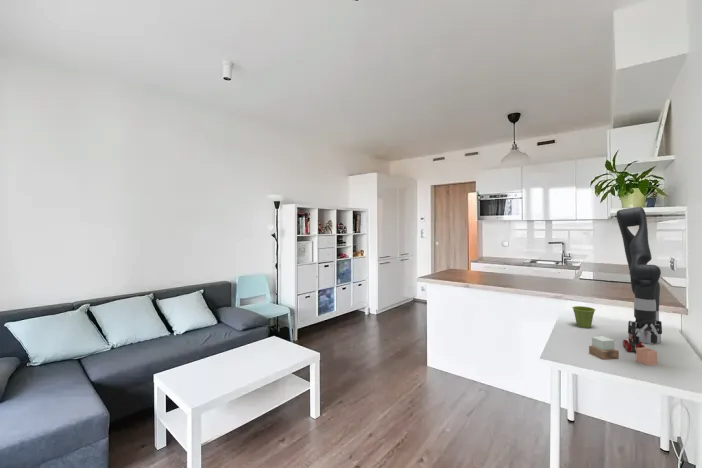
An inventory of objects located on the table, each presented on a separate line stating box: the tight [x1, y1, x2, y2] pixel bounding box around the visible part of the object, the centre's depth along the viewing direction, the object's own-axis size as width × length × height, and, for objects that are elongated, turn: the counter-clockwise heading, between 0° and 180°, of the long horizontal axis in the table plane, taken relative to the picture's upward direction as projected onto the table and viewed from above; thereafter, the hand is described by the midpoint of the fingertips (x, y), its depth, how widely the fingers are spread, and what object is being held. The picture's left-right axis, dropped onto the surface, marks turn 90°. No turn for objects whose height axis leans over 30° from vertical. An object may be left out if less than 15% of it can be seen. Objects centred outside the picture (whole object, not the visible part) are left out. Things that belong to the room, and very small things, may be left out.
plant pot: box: [571, 305, 596, 329], centre depth 204 cm, size 12×12×11 cm
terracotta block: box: [635, 347, 658, 366], centre depth 150 cm, size 5×5×6 cm
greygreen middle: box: [591, 335, 615, 350], centre depth 159 cm, size 6×6×4 cm
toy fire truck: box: [622, 329, 645, 352], centre depth 165 cm, size 7×12×10 cm, turn 152°
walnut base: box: [588, 345, 620, 361], centre depth 159 cm, size 8×8×4 cm
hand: (644, 343), depth 150 cm, fingers open, 8 cm apart
